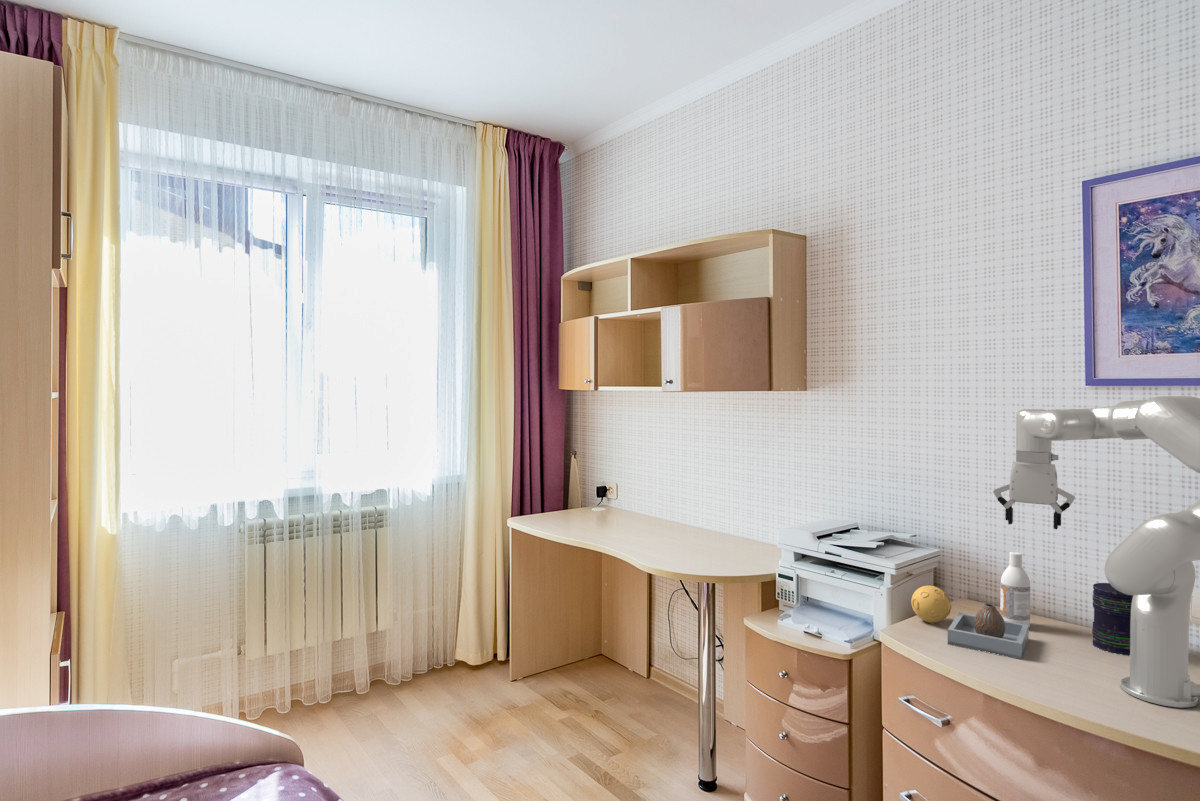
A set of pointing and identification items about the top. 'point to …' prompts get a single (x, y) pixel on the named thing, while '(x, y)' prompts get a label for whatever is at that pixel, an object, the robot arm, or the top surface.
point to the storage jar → (1111, 619)
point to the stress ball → (931, 604)
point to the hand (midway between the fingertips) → (1032, 525)
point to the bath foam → (1015, 592)
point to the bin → (988, 637)
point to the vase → (989, 622)
